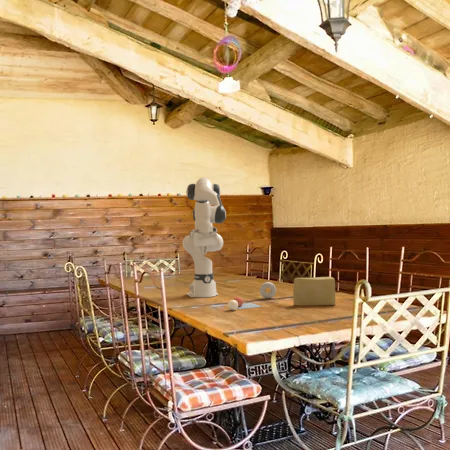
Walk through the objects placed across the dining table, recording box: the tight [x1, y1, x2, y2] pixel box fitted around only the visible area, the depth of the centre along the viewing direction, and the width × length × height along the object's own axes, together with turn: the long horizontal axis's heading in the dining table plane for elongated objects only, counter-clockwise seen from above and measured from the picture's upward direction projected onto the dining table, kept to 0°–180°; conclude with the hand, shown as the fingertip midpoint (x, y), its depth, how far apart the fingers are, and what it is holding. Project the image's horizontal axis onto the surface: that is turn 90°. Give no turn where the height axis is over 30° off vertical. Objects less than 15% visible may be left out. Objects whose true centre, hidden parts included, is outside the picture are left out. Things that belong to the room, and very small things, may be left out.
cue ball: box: [227, 299, 238, 311], centre depth 270 cm, size 6×6×6 cm
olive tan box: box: [292, 276, 336, 306], centre depth 280 cm, size 22×10×15 cm, turn 91°
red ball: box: [233, 296, 244, 307], centre depth 280 cm, size 6×6×6 cm
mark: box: [236, 302, 263, 310], centre depth 281 cm, size 14×14×1 cm
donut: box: [259, 281, 277, 299], centre depth 306 cm, size 10×4×10 cm, turn 90°
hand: (203, 254), depth 282 cm, fingers closed
